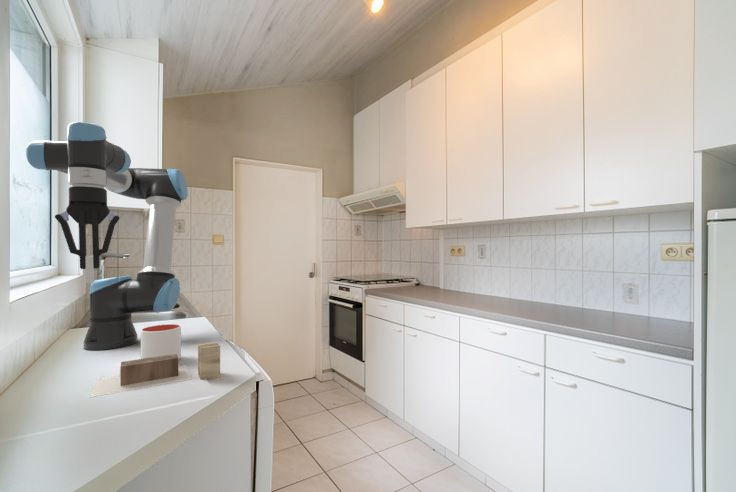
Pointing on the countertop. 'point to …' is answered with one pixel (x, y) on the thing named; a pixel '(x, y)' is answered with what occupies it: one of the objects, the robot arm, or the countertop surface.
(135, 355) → the countertop surface
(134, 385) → the board
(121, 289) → the robot arm
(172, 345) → the cup
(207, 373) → the beech block
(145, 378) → the walnut block
